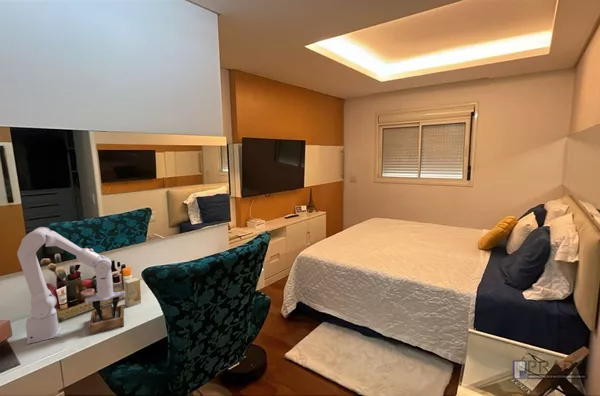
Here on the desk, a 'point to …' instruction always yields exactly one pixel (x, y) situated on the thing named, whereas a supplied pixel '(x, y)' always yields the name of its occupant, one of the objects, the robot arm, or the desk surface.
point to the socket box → (107, 321)
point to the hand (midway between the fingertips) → (107, 315)
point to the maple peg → (107, 312)
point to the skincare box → (132, 292)
